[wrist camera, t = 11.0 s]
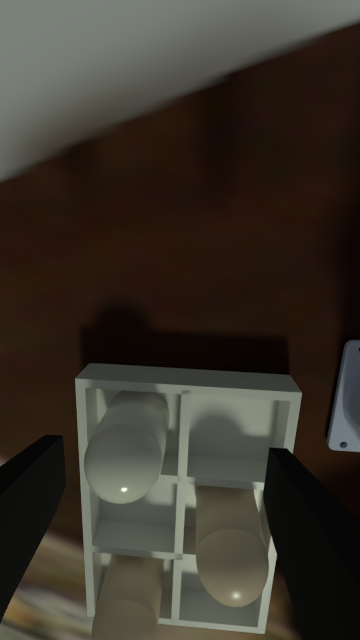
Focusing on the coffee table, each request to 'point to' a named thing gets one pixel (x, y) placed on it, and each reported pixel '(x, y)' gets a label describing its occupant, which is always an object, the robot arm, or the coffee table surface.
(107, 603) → the egg carton
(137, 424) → the egg
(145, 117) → the coffee table surface
